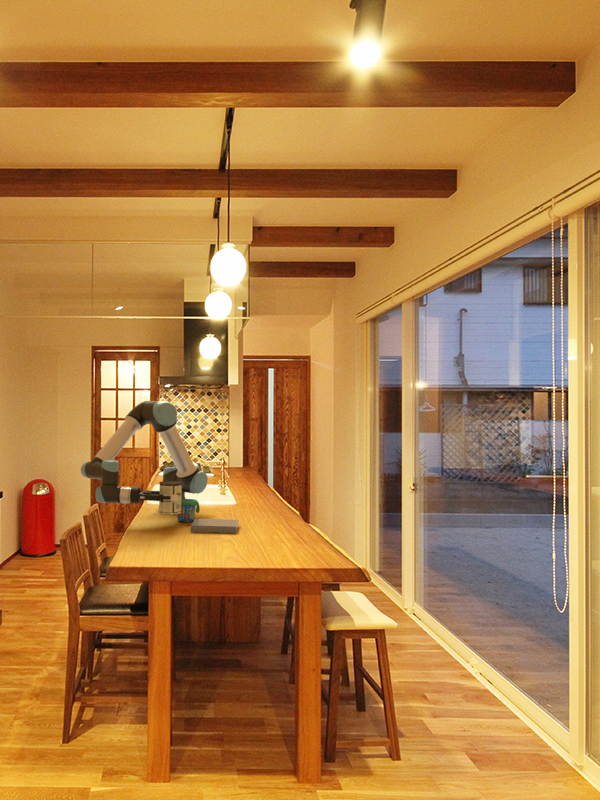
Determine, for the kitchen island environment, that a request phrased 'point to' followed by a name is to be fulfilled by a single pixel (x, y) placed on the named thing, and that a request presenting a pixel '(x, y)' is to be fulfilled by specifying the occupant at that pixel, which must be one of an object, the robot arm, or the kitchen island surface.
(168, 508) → the coffee can
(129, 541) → the kitchen island surface
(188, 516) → the snack cup
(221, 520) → the slate plinth
